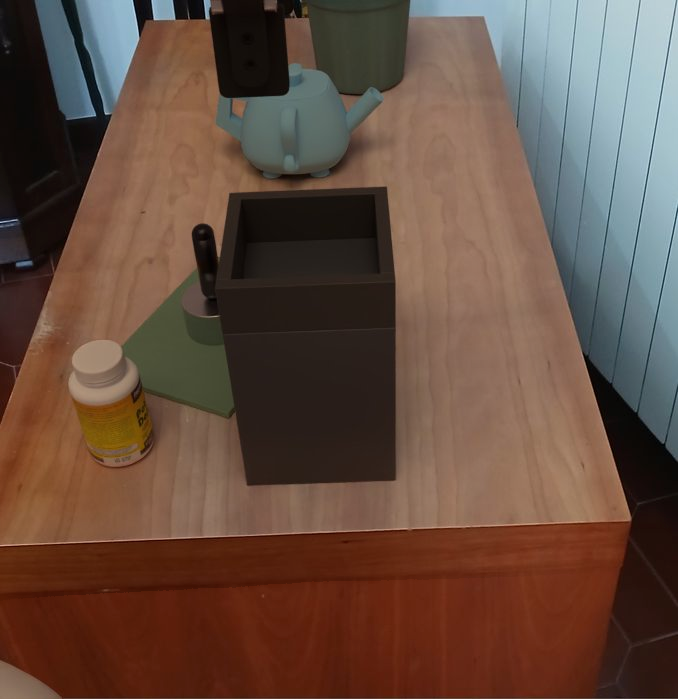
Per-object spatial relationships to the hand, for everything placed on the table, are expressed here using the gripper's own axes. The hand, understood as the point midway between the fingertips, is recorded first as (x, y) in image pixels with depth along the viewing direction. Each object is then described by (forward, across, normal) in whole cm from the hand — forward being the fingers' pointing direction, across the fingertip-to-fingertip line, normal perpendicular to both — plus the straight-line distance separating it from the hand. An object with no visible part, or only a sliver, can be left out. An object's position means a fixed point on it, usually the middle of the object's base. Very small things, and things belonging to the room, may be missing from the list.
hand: (260, 51), depth 46 cm
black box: (+38, -11, +1) cm, 39 cm away
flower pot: (+37, -79, +7) cm, 88 cm away
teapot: (+38, -56, -1) cm, 68 cm away
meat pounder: (+37, -24, -9) cm, 45 cm away
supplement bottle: (+38, -10, -16) cm, 42 cm away
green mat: (+38, -24, -9) cm, 46 cm away
